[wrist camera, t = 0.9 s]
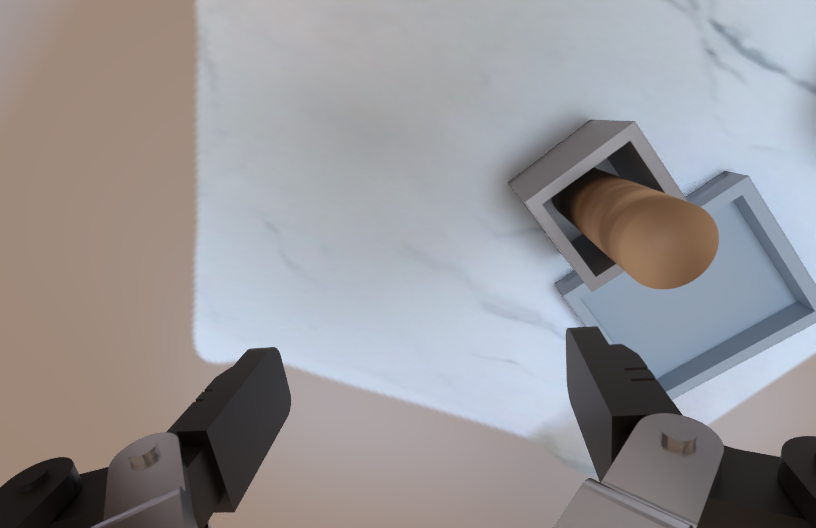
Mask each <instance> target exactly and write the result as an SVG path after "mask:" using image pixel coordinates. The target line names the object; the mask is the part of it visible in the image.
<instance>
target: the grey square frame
mask: <svg viewBox="0 0 816 528" xmlns="http://www.w3.org/2000/svg"><path fill="white" fill-rule="evenodd" d="M593 167H594V168H597V169H599V170H602V171H605V172H608V173H610V174H613V175H616V176H618V177H621V178H624V179H627V180H629V181H632V182H635V183H638V184H640V185H643V186H646V187H649V188H651V189H654V190H657V191H660V192H662V193H665V194H668V195H671V196H673V197H676V198H679V199H682V200H684V201H687V199H686V198H685V196H684V195H683V193H682V192H681V190H680V189H679V187H678V186H677V184H676V183H675V181H674V180H673V178H672V177H671V175H670V174H669V172H668V171H667V169H666V168H665V166H664V165H663V163H662V162H661V160H660V158H659V157H658V155H657V154H656V152H655V151H654V149H653V148H652V146H651V145H650V143H649V142H648V140H647V139H646V137H645V136H644V134H643V133H642V131H641V130H640V128H639V127H638V125H637V124H636V122H635V121H609V120H590V121H589V122H588V123H586V124H585V125H584V126H582V127H581V128H580V129H578V130H577V131H576V132H574V133H573V134H572V135H570V136H569V137H568V138H566V139H565V140H564V141H563V142H561V143H560V144H559V145H557V146H556V147H555V148H553V149H552V150H551V151H549V152H548V153H547V154H545V155H544V156H543V157H541V158H540V159H539V160H537V161H536V162H535V163H533V164H532V165H531V166H530V167H528V168H527V169H526V170H524V171H523V172H522V173H520V174H519V175H518V176H516V177H515V178H514V179H512V180H511V181H510V182H508V183H509V185H510V186H511V187H512V189H513V190H514V191H515V193H516V194H517V195H518V197H519V198H520V199H521V201H522V202H523V203H524V205H525V206H526V207H527V209H528V210H529V211H530V213H531V214H532V215H533V217H534V218H535V219H536V221H537V222H538V223H539V225H540V226H541V227H542V229H543V230H544V231H545V233H546V234H547V235H548V237H549V238H550V239H551V241H552V242H553V243H554V245H555V246H556V247H557V249H558V250H559V251H560V253H561V254H562V255H563V257H564V258H565V259H566V260H567V262H568V263H569V264H570V265H571V267H572V268H573V269H574V270H575V272H576V273H577V274H578V275H579V277H580V278H581V279H582V280H583V282H584V283H585V284H586V286H587V287H588V288H589V289H590V291H591V292H593V291H595V290H597V289H598V288H600V287H601V286H603V285H604V284H606V283H608V282H609V281H611V280H612V279H614V278H615V277H617V276H618V275H620V274H622V273H623V272H625V271H624V270H623V269H622V268H621V267H620V266H618V265H617V264H616V263H615V262H614V261H613V260H612V259H611V258H610V257H608V256H607V255H606V254H605V253H604V252H603V251H602V250H601V249H599V248H598V247H597V246H596V245H595V244H594V243H593V242H592V241H591V240H589V239H588V238H587V237H586V236H585V235H584V234H583V233H582V232H581V231H579V230H578V229H577V228H576V227H575V226H574V225H573V224H572V223H570V222H569V221H568V220H567V219H566V218H565V217H564V216H563V215H562V214H560V213H559V212H558V211H557V210H556V208H555V207H554V205H553V203H552V199H551V197H553V196H554V195H556V194H557V193H558V192H560V191H561V190H563V189H564V188H565V187H567V186H568V185H569V184H571V183H572V182H574V181H575V180H576V179H578V178H579V177H581V176H582V175H583V174H585V173H586V172H587V171H589V170H590V169H592V168H593ZM687 202H688V201H687Z"/></svg>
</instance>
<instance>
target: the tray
mask: <svg viewBox="0 0 816 528" xmlns="http://www.w3.org/2000/svg"><path fill="white" fill-rule="evenodd" d="M685 198H686V199H687V201H688V202H690V203H693V204H695V205H697V206H699V207H701V208H703V209H704V210H706V211H707V212H708V213H709V214H710V215H711V217H712V218H713V219H714V221H715V223H716V225H717V228H718V233H719V245H718V250H717V253H716V255H715V258H714V260H713V261H712V263H711V264H710V266H709V267H708V269H707V270H706V271H705V272H704V273H703V274H702V275H700V276H699V277H698V278H696V279H695V280H694V281H692V282H690V283H688V284H686V285H683V286H681V287H677V288H673V289H653V288H649V287H646V286H644V285H642V284H640V283H638V282H637V281H635V280H634V279H633V278H632V277H631V276H630V275H628V274H627V273H626V272H623V273H622V274H620V275H618V276H617V277H615V278H614V279H612V280H611V281H609V282H608V283H606V284H604V285H603V286H601V287H600V288H598V289H597V290H595V291H593V292H591V291H590V289H589V288H588V287H587V286H586V284H585V283H584V282H583V280H582V279H581V278H580V277H579V275H578V274H577V273H576V272H575V271H573V272H572V273H570V274H569V275H567V276H566V277H564V278H563V279H561V280H560V281H558V282H557V283H555V285H556V286H557V288H558V290H559V291H560V293H561V294H562V296H563V297H564V299H565V300H566V301H567V303H568V304H569V305H570V307H571V308H572V309H573V310H574V312H575V313H576V314H577V316H578V317H579V318H580V320H581V321H582V322H583V323H584V325H585V326H586V327H592V326H597V327H598V328H599V329H600V331H601V332H602V334H603V336H604V337H605V339H606V340H607V342H608V344H609V345H611V344H623V345H625V346H626V347H628V348H630V349H631V350H633V351H634V352H636V353H638V354H639V355H640V357H641V358H642V360H643V361H644V362H645V364H646V365H647V366H648V370H649V369H650V371H651V372H652V373H653V375H654V376H655V378H656V380H658V382H659V383H660V385H661V386H662V387H663V389H664V390H665V391H666V393H667V394H668V396H669V397H670V398H671V400H673V399H674V398H676V397H678V396H680V395H682V394H684V393H686V392H688V391H689V390H691V389H693V388H695V387H697V386H699V385H701V384H703V383H704V382H706V381H708V380H710V379H712V378H714V377H716V376H717V375H719V374H721V373H723V372H725V371H727V370H729V369H731V368H732V367H734V366H736V365H738V364H740V363H742V362H744V361H746V360H747V359H749V358H751V357H753V356H755V355H757V354H759V353H760V352H762V351H764V350H766V349H768V348H770V347H772V346H774V345H775V344H777V343H779V342H781V341H783V340H785V339H787V338H789V337H790V336H792V335H794V334H796V333H798V332H800V331H802V330H804V329H805V328H807V327H809V326H811V325H813V324H815V323H816V284H815V283H814V281H813V279H812V278H811V276H810V274H809V273H808V271H807V270H806V268H805V266H804V265H803V263H802V261H801V260H800V258H799V257H798V255H797V253H796V252H795V250H794V249H793V247H792V245H791V244H790V242H789V240H788V239H787V237H786V236H785V234H784V232H783V231H782V229H781V227H780V226H779V224H778V223H777V221H776V219H775V218H774V216H773V214H772V213H771V211H770V210H769V208H768V206H767V205H766V203H765V201H764V200H763V198H762V197H761V195H760V193H759V192H758V190H757V188H756V187H755V185H754V184H753V182H752V180H751V179H750V177H749V176H747V175H742V174H737V173H732V172H727V171H725V172H723V173H722V174H720V175H718V176H717V177H715V178H714V179H712V180H711V181H709V182H708V183H706V184H705V185H703V186H702V187H700V188H699V189H697V190H696V191H694V192H693V193H691V194H690V195H688V196H687V197H685Z"/></svg>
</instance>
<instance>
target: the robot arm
mask: <svg viewBox="0 0 816 528" xmlns="http://www.w3.org/2000/svg"><path fill="white" fill-rule="evenodd" d="M566 365H567V387H568V394H569V399H570V402H571V406H572V408H573V411H574V414H575V416H576V419H577V422H578V424H579V427H580V430H581V432H582V435H583V438H584V441H585V443H586V446H587V449H588V451H589V454H590V457H591V459H592V462H593V465H594V467H595V470H596V473H597V475H598V478H599V481H600V482H598V481H596V480H594V479H591V478H589V479H587V480H585V481H584V482H583V483H582V485H581V486H580V488H579V489H578V491H577V492H576V494H575V495H574V497H573V498H572V500H571V501H570V503H569V504H568V506H567V507H566V509H565V510H564V512H563V514H562V515H561V516H560V518H559V519H558V521H557V523H556V524H555V526H554V527H553V528H816V437H814V436H803V437H796V438H793V439H790V440H788V441H787V442H785V444H784V445H783V446H782V451H781V456H780V457H776V456H771V455H766V454H760V453H755V452H749V451H743V450H739V449H734V448H731V447H728V446H724V445H723V443H722V441H721V439H720V438H719V436H718V435H717V434H716V433H715V432H714V431H713V430H712V429H710V428H709V427H708V426H706V425H705V424H703V423H701V422H699V421H697V420H695V419H692V418H689V417H686V416H683V415H682V414H681V412H680V411H679V410H678V408H677V407H676V405H675V404H674V403H673V401H672V400H671V398H670V397H669V396H668V394H667V393H666V391H665V390H664V389H663V387H662V386H661V385H660V383H659V382H658V380H656V378H655V376H654V375H653V373H652V372H651V371H650V369H649V370H648V366H647V365H646V364H645V362H644V361H643V360H642V358H641V357H640V355H639V354H638V353H636V352H634V351H633V350H631V349H630V348H628V347H626V346H625V345H623V344H611V345H609V344H608V342H607V340H606V339H605V337H604V336H603V334H602V332H601V331H600V329H599V328H598V327H597V326H592V327H577V328H567V330H566ZM290 406H291V395H290V390H289V386H288V383H287V378H286V375H285V371H284V367H283V363H282V359H281V355H280V353H279V351H278V349H277V348H275V347H269V348H254V349H248V350H247V351H246V352H245V353H244V354H243V356H242V357H241V358H240V359H239V360H238V361H237V362H236V364H235V365H234V366H233V367H231V368H229V369H228V370H226V371H225V372H223V373H222V374H220V375H219V376H217V377H216V378H215V379H214V380H213V381H212V382H211V383H210V384H209V385H208V386H207V388H206V389H205V392H202V393H201V394H200V395H199V396H198V398H197V399H196V402H193V403H192V404H191V406H190V407H189V408H188V409H187V410H186V411H185V412H184V413H183V414H182V415H181V416H180V418H179V419H178V420H177V421H176V422H175V423H174V424H173V425H172V426H171V428H170V429H169V430H168V431H167V432H163V433H156V434H152V435H149V436H146V437H144V438H142V439H139V440H137V441H135V442H133V443H131V444H130V445H128V446H127V447H125V448H124V449H123V450H121V451H120V452H119V453H118V454H117V455H116V456H115V457H114V458H113V460H112V461H111V463H110V465H109V467H106V468H103V469H99V470H95V471H91V472H87V473H83V474H79V473H78V471H77V469H76V467H75V465H74V463H73V461H72V460H71V459H70V458H66V457H59V458H53V459H49V460H46V461H43V462H40V463H38V464H35V465H33V466H31V467H29V468H27V469H25V470H24V471H22V472H20V473H19V474H17V475H15V476H14V477H13V478H11V479H10V480H9V481H7V482H6V483H5V484H4V485H3V486H1V487H0V528H211V526H210V524H209V519H210V517H211V516H212V514H213V512H235V510H236V508H237V506H238V505H239V503H240V501H241V499H242V498H243V496H244V494H245V492H246V491H247V489H248V487H249V485H250V483H251V482H252V480H253V478H254V476H255V474H256V472H257V471H258V469H259V467H260V465H261V464H262V462H263V460H264V458H265V456H266V455H267V453H268V451H269V449H270V447H271V446H272V444H273V442H274V440H275V438H276V436H277V435H278V433H279V431H280V429H281V428H282V426H283V424H284V422H285V420H286V419H287V417H288V415H289V412H290Z"/></svg>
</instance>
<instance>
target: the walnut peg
mask: <svg viewBox="0 0 816 528" xmlns="http://www.w3.org/2000/svg"><path fill="white" fill-rule="evenodd" d="M551 199H552V203H553V205H554V207H555V208H556V210H557V211H558V212H559V213H560V214H562V215H563V216H564V217H565V218H566V219H567V220H568V221H569V222H570V223H572V224H573V225H574V226H575V227H576V228H577V229H578V230H579V231H581V232H582V233H583V234H584V235H585V236H586V237H587V238H588V239H589V240H591V241H592V242H593V243H594V244H595V245H596V246H597V247H598V248H599V249H601V250H602V251H603V252H604V253H605V254H606V255H607V256H608V257H610V258H611V259H612V260H613V261H614V262H615V263H616V264H617V265H618V266H620V267H621V268H622V269H623V270H624V271H625V272H626V273H627V274H628V275H630V276H631V277H632V278H633V279H634V280H635V281H637V282H638V283H640V284H642V285H644V286H646V287H649V288H653V289H673V288H677V287H681V286H683V285H686V284H688V283H690V282H692V281H694V280H695V279H696V278H698V277H699V276H700V275H702V274H703V273H704V272H705V271H706V270H707V269H708V267H709V266H710V264H711V263H712V261H713V260H714V258H715V255H716V253H717V250H718V245H719V233H718V228H717V225H716V223H715V221H714V219H713V218H712V217H711V215H710V214H709V213H708V212H707V211H706V210H704V209H703V208H701V207H699V206H697V205H695V204H693V203H690V202H687V201H684V200H682V199H679V198H676V197H673V196H671V195H668V194H665V193H662V192H660V191H657V190H654V189H651V188H649V187H646V186H643V185H640V184H638V183H635V182H632V181H629V180H627V179H624V178H621V177H618V176H616V175H613V174H610V173H608V172H605V171H602V170H599V169H597V168H594V167H593V168H592V169H590V170H589V171H587V172H586V173H585V174H583V175H582V176H581V177H579V178H578V179H576V180H575V181H574V182H572V183H571V184H569V185H568V186H567V187H565V188H564V189H563V190H561V191H560V192H558V193H557V194H556V195H554V196H553V197H551Z"/></svg>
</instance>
